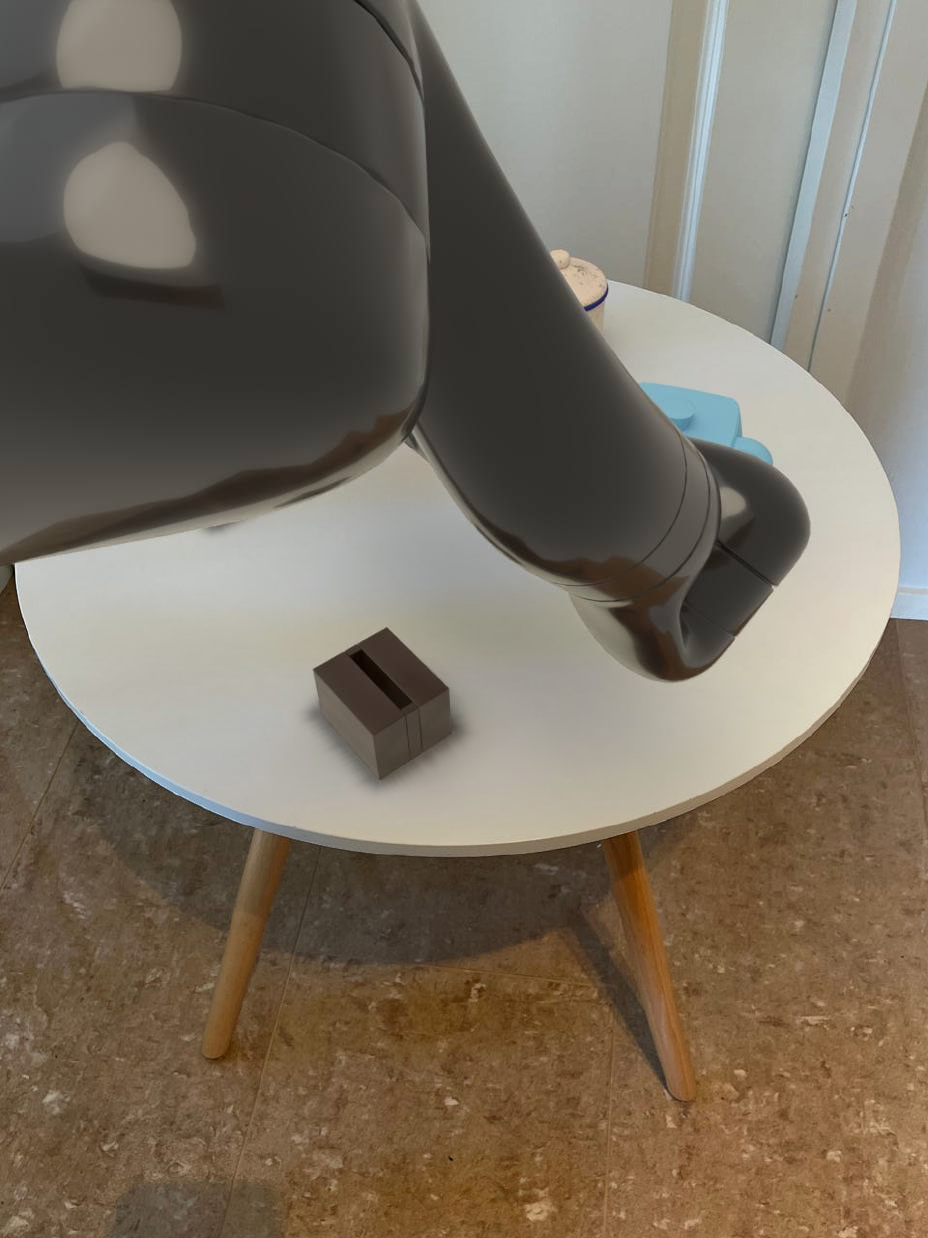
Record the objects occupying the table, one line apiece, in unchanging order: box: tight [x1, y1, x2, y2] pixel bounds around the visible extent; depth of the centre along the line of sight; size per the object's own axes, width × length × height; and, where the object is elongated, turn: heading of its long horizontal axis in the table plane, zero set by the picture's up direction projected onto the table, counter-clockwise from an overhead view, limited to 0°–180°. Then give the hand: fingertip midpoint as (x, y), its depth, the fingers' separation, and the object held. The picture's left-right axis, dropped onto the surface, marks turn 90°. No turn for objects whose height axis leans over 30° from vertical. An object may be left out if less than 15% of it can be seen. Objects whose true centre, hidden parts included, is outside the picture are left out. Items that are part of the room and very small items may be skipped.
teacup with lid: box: [549, 249, 610, 336], centre depth 96 cm, size 12×9×12 cm
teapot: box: [638, 381, 774, 467], centre depth 82 cm, size 12×18×12 cm
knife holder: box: [312, 626, 452, 781], centre depth 70 cm, size 6×7×5 cm
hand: (292, 271), depth 64 cm, fingers open, 8 cm apart
